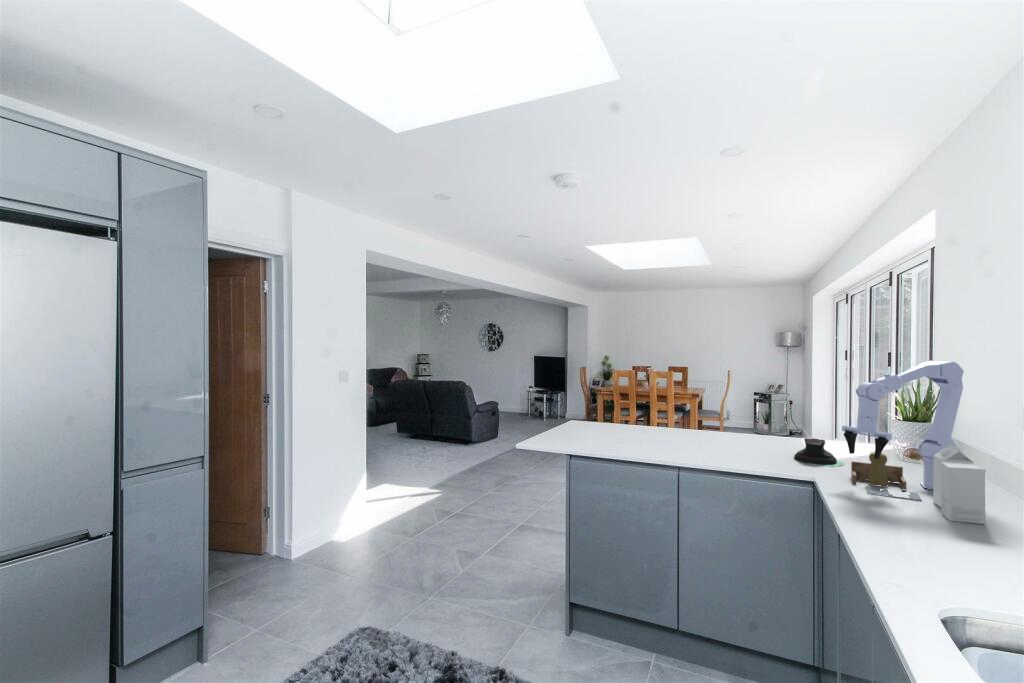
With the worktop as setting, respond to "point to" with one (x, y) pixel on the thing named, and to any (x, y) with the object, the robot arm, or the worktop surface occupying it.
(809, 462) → the black knob handle
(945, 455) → the milk carton
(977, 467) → the skincare box
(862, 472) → the walnut bay
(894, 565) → the worktop surface
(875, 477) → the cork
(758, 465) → the worktop surface
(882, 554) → the worktop surface
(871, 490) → the slate mat
